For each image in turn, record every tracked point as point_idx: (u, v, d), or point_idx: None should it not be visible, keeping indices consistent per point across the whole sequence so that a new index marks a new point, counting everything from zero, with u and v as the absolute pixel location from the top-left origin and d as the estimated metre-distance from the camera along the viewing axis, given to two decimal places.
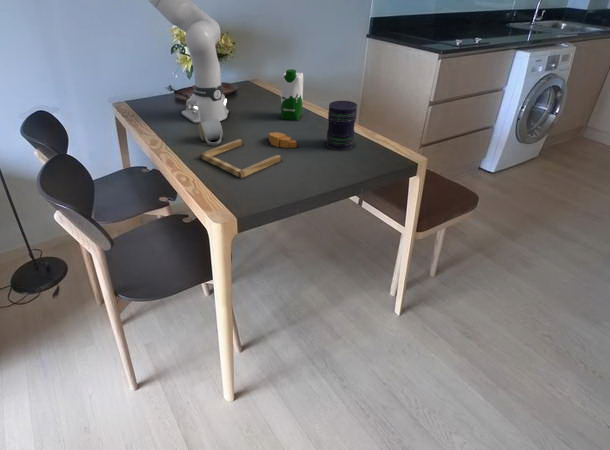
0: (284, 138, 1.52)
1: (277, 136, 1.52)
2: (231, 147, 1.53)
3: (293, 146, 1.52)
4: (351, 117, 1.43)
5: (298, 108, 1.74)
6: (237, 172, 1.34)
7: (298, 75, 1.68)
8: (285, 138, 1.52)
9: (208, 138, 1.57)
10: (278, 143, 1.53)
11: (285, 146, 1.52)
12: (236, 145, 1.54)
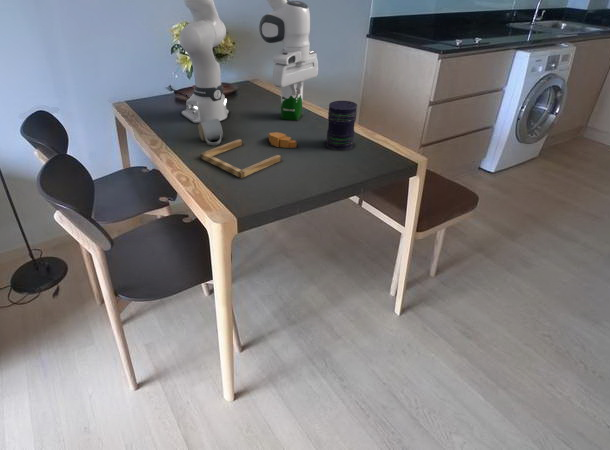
0: (284, 138, 1.52)
1: (277, 136, 1.52)
2: (231, 147, 1.53)
3: (293, 146, 1.52)
4: (351, 117, 1.43)
5: (298, 108, 1.74)
6: (237, 172, 1.34)
7: None
8: (285, 138, 1.52)
9: (208, 138, 1.57)
10: (278, 143, 1.53)
11: (285, 146, 1.52)
12: (236, 145, 1.54)
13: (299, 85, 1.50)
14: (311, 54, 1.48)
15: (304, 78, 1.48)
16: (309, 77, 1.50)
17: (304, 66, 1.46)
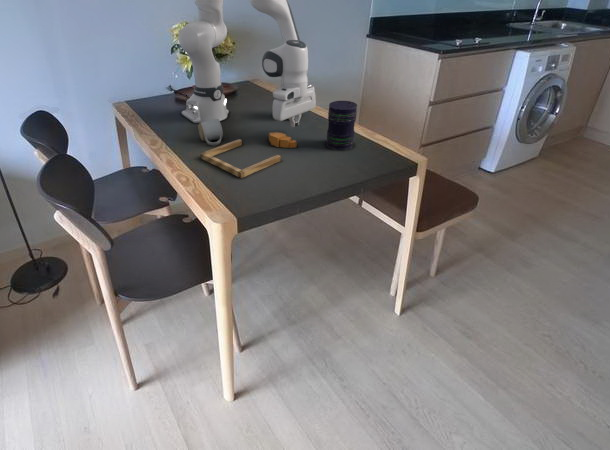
0: (284, 138, 1.52)
1: (277, 136, 1.52)
2: (231, 147, 1.53)
3: (293, 146, 1.52)
4: (351, 117, 1.43)
5: None
6: (237, 172, 1.34)
7: None
8: (285, 138, 1.52)
9: (208, 138, 1.57)
10: (278, 143, 1.53)
11: (285, 146, 1.52)
12: (236, 145, 1.54)
13: (297, 117, 1.57)
14: (309, 88, 1.54)
15: (302, 111, 1.55)
16: (307, 110, 1.56)
17: (302, 100, 1.53)
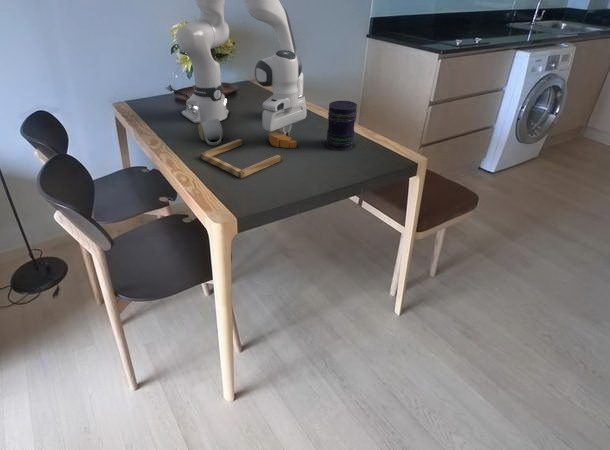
0: (284, 138, 1.52)
1: (277, 136, 1.52)
2: (231, 147, 1.53)
3: (293, 146, 1.52)
4: (351, 117, 1.43)
5: None
6: (237, 172, 1.34)
7: None
8: (285, 138, 1.52)
9: (208, 138, 1.57)
10: (278, 143, 1.53)
11: (285, 146, 1.52)
12: (236, 145, 1.54)
13: (288, 127, 1.55)
14: (299, 98, 1.53)
15: (293, 121, 1.53)
16: (297, 120, 1.55)
17: (293, 110, 1.51)
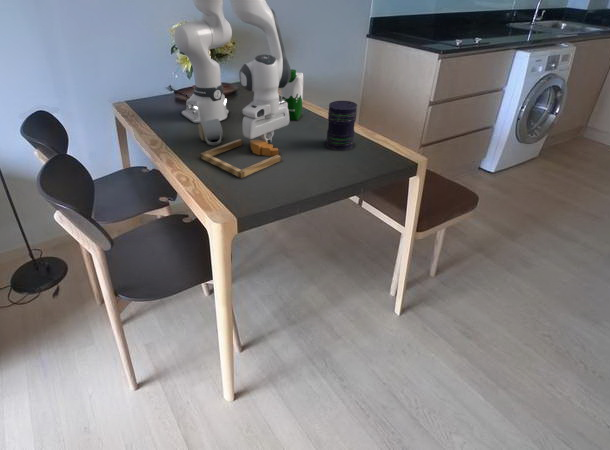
0: (266, 146, 1.47)
1: (258, 144, 1.47)
2: (231, 147, 1.53)
3: (275, 154, 1.47)
4: (351, 117, 1.43)
5: (298, 108, 1.74)
6: (237, 172, 1.34)
7: (298, 75, 1.68)
8: (267, 146, 1.47)
9: (208, 138, 1.57)
10: (260, 151, 1.47)
11: (267, 154, 1.47)
12: (236, 145, 1.54)
13: (270, 134, 1.50)
14: (282, 104, 1.48)
15: (275, 128, 1.48)
16: (280, 126, 1.50)
17: (274, 117, 1.46)
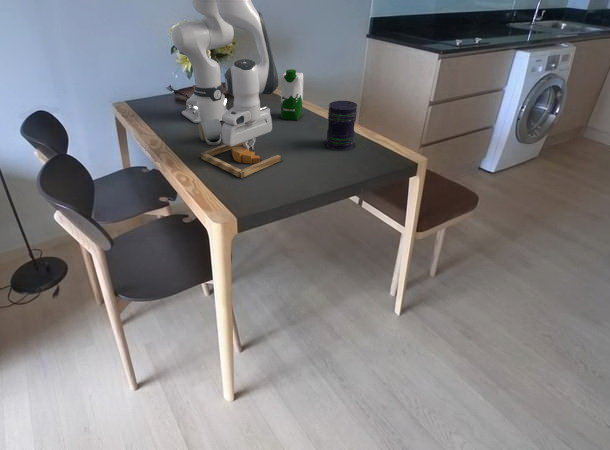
0: (247, 153, 1.42)
1: (239, 151, 1.42)
2: (231, 147, 1.53)
3: (256, 162, 1.42)
4: (351, 117, 1.43)
5: (298, 108, 1.74)
6: (237, 172, 1.34)
7: (298, 75, 1.68)
8: (248, 153, 1.42)
9: (208, 138, 1.57)
10: (241, 158, 1.42)
11: (248, 162, 1.42)
12: (236, 145, 1.54)
13: (251, 141, 1.45)
14: (263, 110, 1.43)
15: (256, 135, 1.43)
16: (262, 133, 1.45)
17: (256, 123, 1.41)
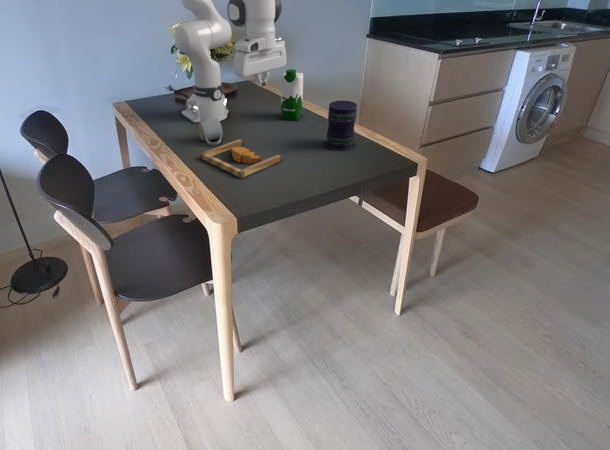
0: (246, 153, 1.42)
1: (239, 151, 1.42)
2: (231, 147, 1.53)
3: (256, 162, 1.42)
4: (351, 117, 1.43)
5: (298, 108, 1.74)
6: (237, 172, 1.34)
7: (298, 75, 1.68)
8: (248, 153, 1.42)
9: (208, 138, 1.57)
10: (241, 158, 1.42)
11: (248, 162, 1.42)
12: (236, 145, 1.54)
13: (265, 75, 1.38)
14: (278, 42, 1.36)
15: (270, 68, 1.36)
16: (276, 67, 1.38)
17: (270, 54, 1.34)
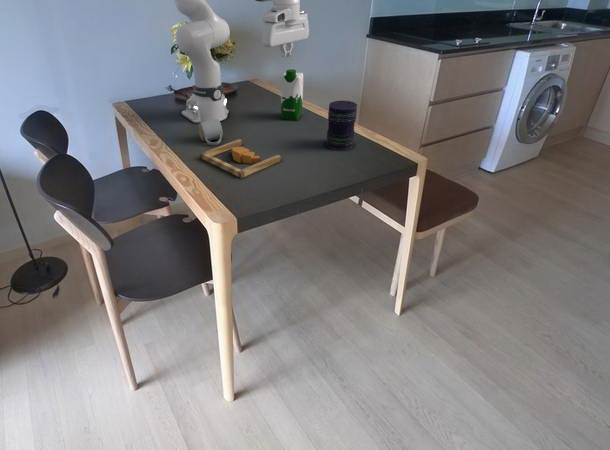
0: (246, 153, 1.42)
1: (239, 151, 1.42)
2: (231, 147, 1.53)
3: (256, 162, 1.42)
4: (351, 117, 1.43)
5: (298, 108, 1.74)
6: (237, 172, 1.34)
7: (298, 75, 1.68)
8: (248, 153, 1.42)
9: (208, 138, 1.57)
10: (241, 158, 1.42)
11: (248, 162, 1.42)
12: (236, 145, 1.54)
13: (289, 47, 1.46)
14: (301, 14, 1.44)
15: (294, 39, 1.44)
16: (299, 38, 1.46)
17: (294, 26, 1.42)
